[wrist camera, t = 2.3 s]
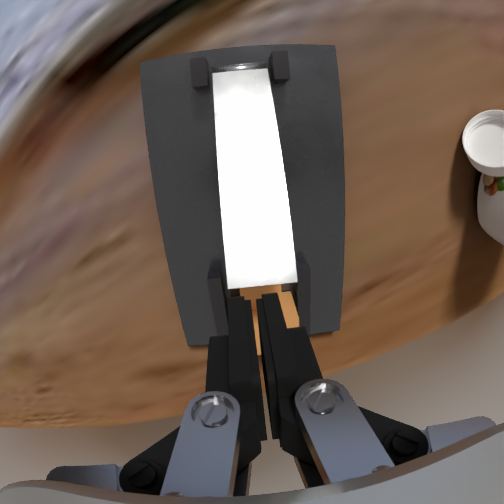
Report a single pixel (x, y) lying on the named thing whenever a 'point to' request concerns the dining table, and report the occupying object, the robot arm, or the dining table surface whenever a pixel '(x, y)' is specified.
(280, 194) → the strap
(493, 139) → the spread jar
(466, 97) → the dining table surface
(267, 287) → the block
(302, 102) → the plate
